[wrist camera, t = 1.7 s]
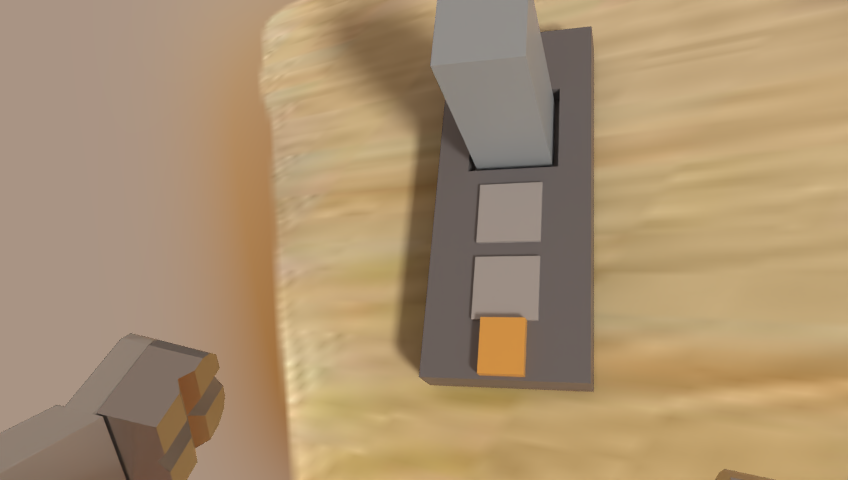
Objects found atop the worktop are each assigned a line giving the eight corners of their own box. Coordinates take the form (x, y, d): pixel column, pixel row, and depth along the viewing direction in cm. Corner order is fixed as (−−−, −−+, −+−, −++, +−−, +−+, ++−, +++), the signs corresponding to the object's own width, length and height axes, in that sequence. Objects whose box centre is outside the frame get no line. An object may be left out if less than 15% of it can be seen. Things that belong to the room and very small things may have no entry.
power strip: (593, 48, 44) (590, 19, 42) (593, 391, 36) (590, 381, 34) (458, 62, 47) (448, 36, 45) (430, 385, 39) (415, 374, 36)
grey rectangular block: (555, 105, 42) (529, -22, 33) (553, 170, 41) (525, 56, 31) (483, 111, 44) (438, -10, 34) (479, 174, 42) (430, 65, 32)
